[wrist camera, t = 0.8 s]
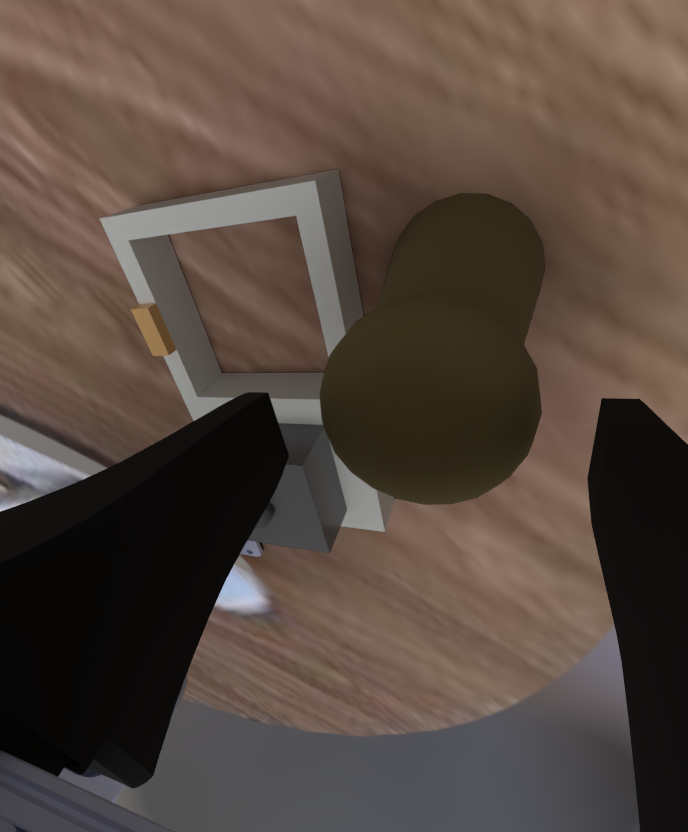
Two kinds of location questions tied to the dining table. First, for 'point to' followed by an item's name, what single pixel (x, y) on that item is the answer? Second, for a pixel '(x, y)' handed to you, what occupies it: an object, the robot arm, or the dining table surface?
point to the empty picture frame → (289, 392)
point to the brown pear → (442, 358)
